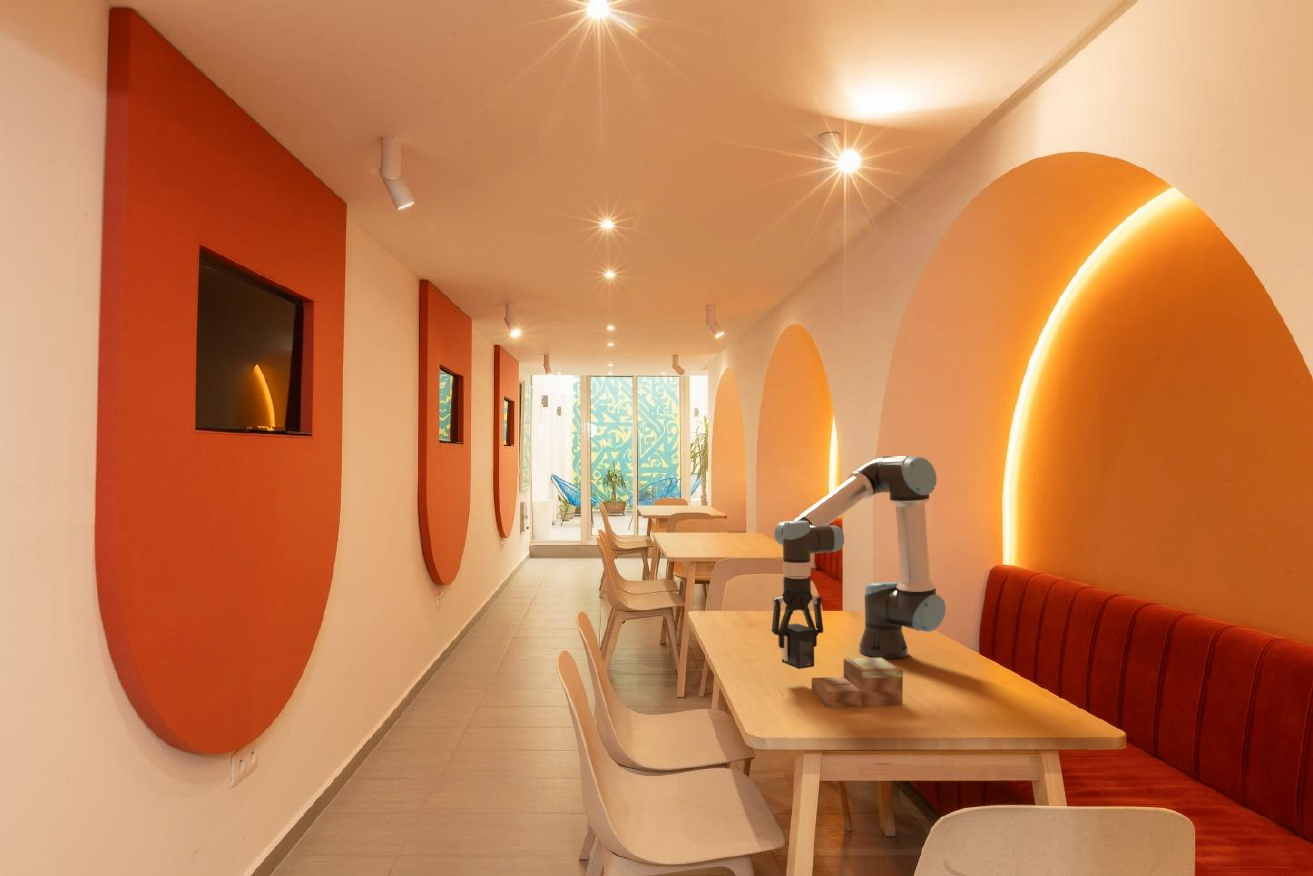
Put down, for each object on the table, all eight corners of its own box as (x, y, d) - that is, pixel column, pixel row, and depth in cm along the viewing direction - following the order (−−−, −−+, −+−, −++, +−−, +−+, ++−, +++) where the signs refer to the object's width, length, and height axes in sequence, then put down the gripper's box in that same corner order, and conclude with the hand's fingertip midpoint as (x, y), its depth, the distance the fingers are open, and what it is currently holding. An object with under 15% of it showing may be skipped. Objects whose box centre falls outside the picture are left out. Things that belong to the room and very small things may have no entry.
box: (814, 666, 202) (814, 628, 203) (798, 669, 200) (797, 630, 200) (797, 659, 210) (797, 622, 210) (781, 662, 207) (780, 624, 207)
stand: (882, 690, 200) (882, 656, 201) (902, 705, 188) (903, 669, 188) (811, 692, 198) (811, 658, 198) (828, 708, 185) (828, 671, 186)
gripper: (825, 573, 210) (826, 653, 210) (758, 575, 208) (759, 656, 207) (835, 577, 203) (836, 661, 202) (766, 579, 200) (767, 664, 200)
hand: (797, 658), depth 205 cm, fingers closed on box, 7 cm apart
